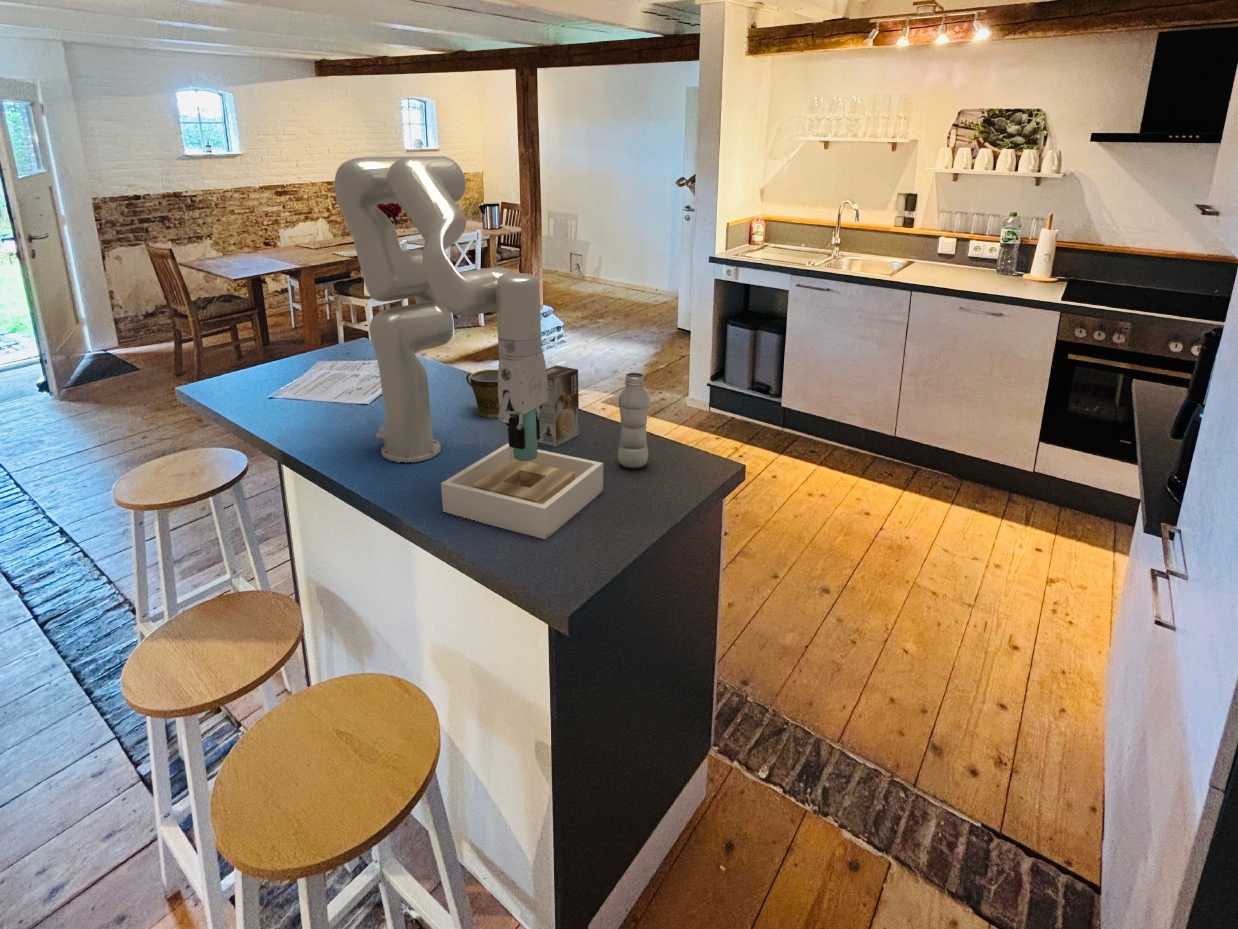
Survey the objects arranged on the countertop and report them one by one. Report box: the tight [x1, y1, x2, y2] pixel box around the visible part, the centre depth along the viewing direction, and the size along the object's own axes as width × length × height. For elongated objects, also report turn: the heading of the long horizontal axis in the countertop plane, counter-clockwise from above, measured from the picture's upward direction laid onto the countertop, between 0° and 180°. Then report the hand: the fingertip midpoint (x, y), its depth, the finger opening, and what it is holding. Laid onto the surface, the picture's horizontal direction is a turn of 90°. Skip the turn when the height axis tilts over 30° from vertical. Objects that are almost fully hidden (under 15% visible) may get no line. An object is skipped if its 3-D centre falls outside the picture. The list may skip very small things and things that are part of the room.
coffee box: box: [537, 365, 580, 448], centre depth 173 cm, size 9×6×16 cm
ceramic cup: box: [465, 369, 500, 419], centre depth 189 cm, size 13×10×10 cm
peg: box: [512, 407, 538, 461], centre depth 139 cm, size 4×4×12 cm
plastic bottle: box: [617, 372, 651, 469], centre depth 158 cm, size 6×7×20 cm
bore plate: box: [472, 459, 575, 504], centre depth 145 cm, size 14×14×4 cm
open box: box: [440, 442, 604, 540], centre depth 145 cm, size 22×22×6 cm
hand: (524, 442), depth 141 cm, fingers closed on peg, 4 cm apart
